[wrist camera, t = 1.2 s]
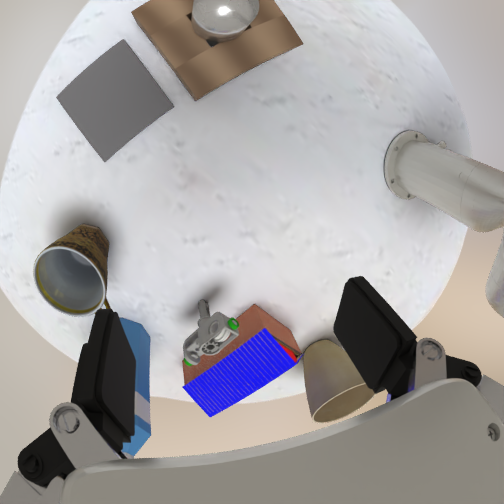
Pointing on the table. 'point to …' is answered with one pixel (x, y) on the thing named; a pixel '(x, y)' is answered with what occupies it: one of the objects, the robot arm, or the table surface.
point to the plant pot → (332, 383)
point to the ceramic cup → (74, 272)
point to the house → (242, 362)
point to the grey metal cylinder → (222, 18)
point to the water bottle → (139, 385)
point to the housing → (221, 55)
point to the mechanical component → (209, 335)
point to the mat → (113, 100)
